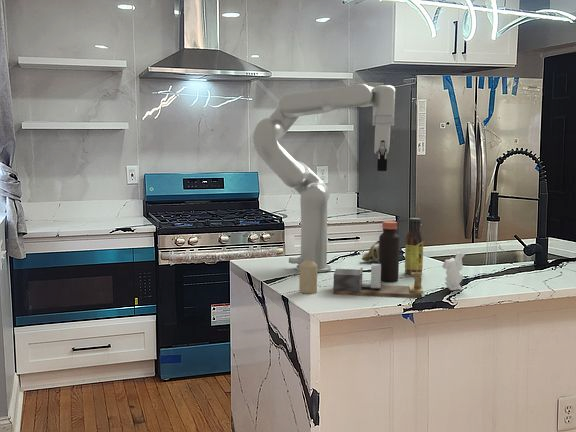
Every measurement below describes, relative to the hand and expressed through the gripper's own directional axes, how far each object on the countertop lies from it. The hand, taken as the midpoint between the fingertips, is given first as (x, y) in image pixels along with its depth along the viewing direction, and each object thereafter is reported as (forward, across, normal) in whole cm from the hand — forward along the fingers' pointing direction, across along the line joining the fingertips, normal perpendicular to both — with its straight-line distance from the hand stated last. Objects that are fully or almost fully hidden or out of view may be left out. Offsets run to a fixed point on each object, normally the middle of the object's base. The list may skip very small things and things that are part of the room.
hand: (382, 170), depth 238 cm
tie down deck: (+37, +31, 0) cm, 48 cm away
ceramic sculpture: (+37, -20, 0) cm, 42 cm away
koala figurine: (+37, +23, +24) cm, 50 cm away
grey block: (+35, +31, -6) cm, 47 cm away
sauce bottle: (+37, 0, +12) cm, 39 cm away
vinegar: (+37, +13, +3) cm, 39 cm away
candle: (+37, +35, -22) cm, 55 cm away
